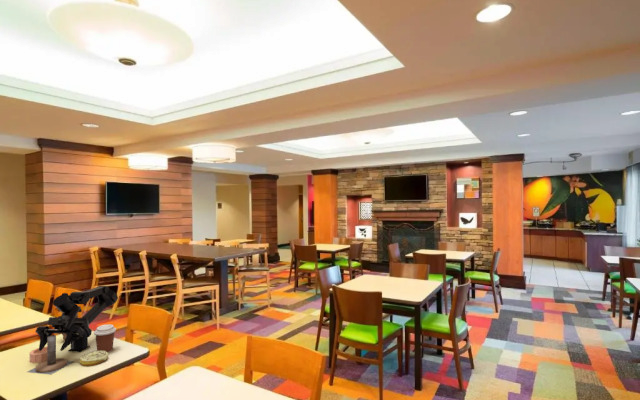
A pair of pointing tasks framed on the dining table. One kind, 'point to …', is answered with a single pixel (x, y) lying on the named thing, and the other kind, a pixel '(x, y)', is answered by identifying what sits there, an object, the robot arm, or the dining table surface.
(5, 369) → the dining table surface
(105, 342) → the coffee cup
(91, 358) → the decorated donut
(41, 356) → the bowl
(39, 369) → the lid
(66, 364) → the mat
